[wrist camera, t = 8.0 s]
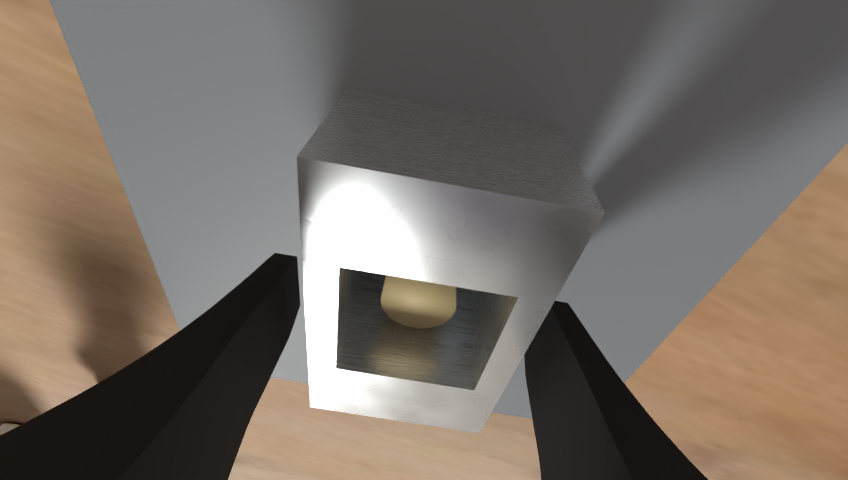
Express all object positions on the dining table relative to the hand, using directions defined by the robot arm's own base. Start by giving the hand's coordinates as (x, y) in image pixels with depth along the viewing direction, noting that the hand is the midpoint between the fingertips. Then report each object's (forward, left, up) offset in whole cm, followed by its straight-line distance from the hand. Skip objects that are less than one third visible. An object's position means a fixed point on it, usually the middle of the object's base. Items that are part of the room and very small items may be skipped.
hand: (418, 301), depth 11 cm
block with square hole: (0, 0, -2) cm, 2 cm away
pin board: (0, 0, -4) cm, 4 cm away
